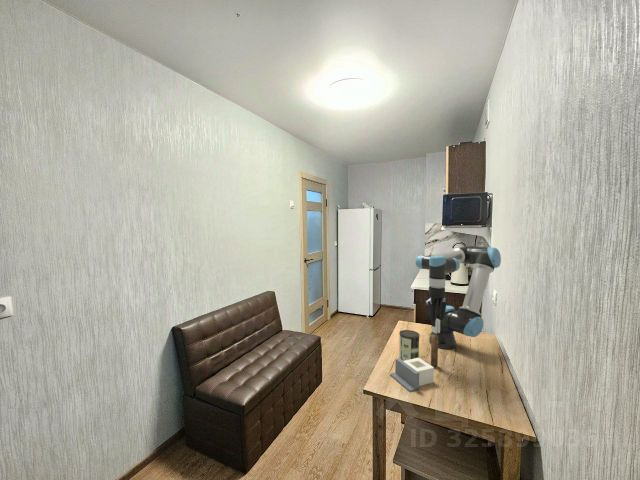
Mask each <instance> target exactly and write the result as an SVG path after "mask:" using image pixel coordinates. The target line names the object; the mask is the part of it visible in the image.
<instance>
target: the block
mask: <svg viewBox="0 0 640 480" xmlns="http://www.w3.org/2000/svg"><path fill="white" fill-rule="evenodd" d="M403 362H405V363H406V364H408V365H409V366H410V367H412V368H413V369H414V370H416V371H417V372H419V387H422V386H424V385H429V384H433V383H435V382H434V380H435V379H434V378H435V376H434V375H435V368H434V367H432V366H431V364H429V363H428V362H426V361H425V360H423V359H422V358H421V357H419V358H414V359H410V360H405V361H403Z"/></svg>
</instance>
